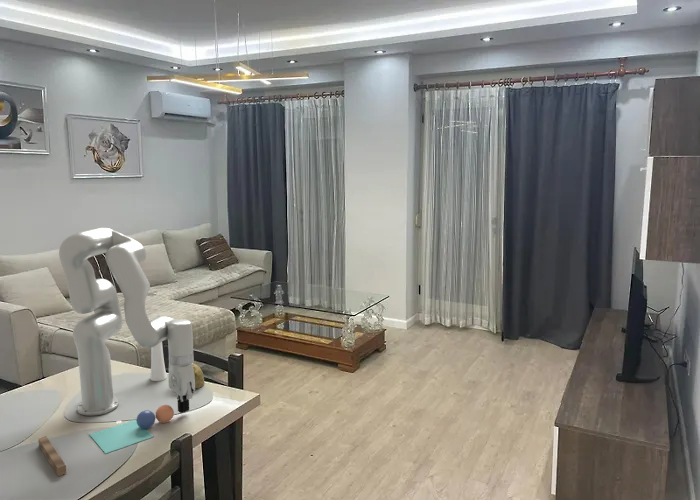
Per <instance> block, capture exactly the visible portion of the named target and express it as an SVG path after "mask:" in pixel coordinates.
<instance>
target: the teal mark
mask: <svg viewBox="0 0 700 500" xmlns="http://www.w3.org/2000/svg"><path fill="white" fill-rule="evenodd" d="M136 420H137V419H133V420H130V421H127V422H123V423H121V424H116V425H115V426H111V427H108V428H105V429H102V430H99V431H95V432H92V433H90V434H89V436H90V437H91V438H92V440H93V441H94V442H95V443H96V445H98V447H99V448H100V450H102V451H104V452H103V453H104V454H109V453H112V452H116V451H118V450H121V449H123V448H127V447H129V446H133V445H136V444H137V443H138V444H139V443H140V442H143V441H146V440H148V439H153V438H155V437H154V435H153V434H152V433H151V432H149V431H148V429H143V428H140V427H139V426H138V425H137V421H136Z"/></svg>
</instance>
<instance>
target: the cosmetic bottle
mask: <svg viewBox="0 0 700 500" xmlns="http://www.w3.org/2000/svg"><path fill="white" fill-rule="evenodd" d="M150 353H151V354H150V356H151V357H150V361H151V362H150V363H151V364H150V378H149V379H150V381H153V382H161V381H164V380H166V379H167V378H168V376H167V372H166V366H165V360H164V358H165V357H164V350H163V341H162V342H160V343H159V344H157V345H156V346H154V347H152V348H150Z"/></svg>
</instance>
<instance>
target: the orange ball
mask: <svg viewBox="0 0 700 500" xmlns="http://www.w3.org/2000/svg"><path fill="white" fill-rule="evenodd" d="M174 415H175V411H174V409H173V407H172V406H170V404H169V405H168V404H163V405H161V406H159V407H158V408H157V409H156V411H155V420H157V421H158V422H159V423H162V424H165V423H169V422H171V421H172V419H173V418H174Z"/></svg>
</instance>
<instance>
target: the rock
mask: <svg viewBox="0 0 700 500" xmlns="http://www.w3.org/2000/svg"><path fill="white" fill-rule="evenodd" d="M192 364H193V370H194V379H195V390H197V389H196V388H198V389H199V388H201V387H202V386H203V387H204V386H205V384H206V383H205V377H204V373H203V370H202V369H201V367H200V366H199V365H197V364H196V363H194V362H193V363H192ZM203 387H202V388H203Z"/></svg>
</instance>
